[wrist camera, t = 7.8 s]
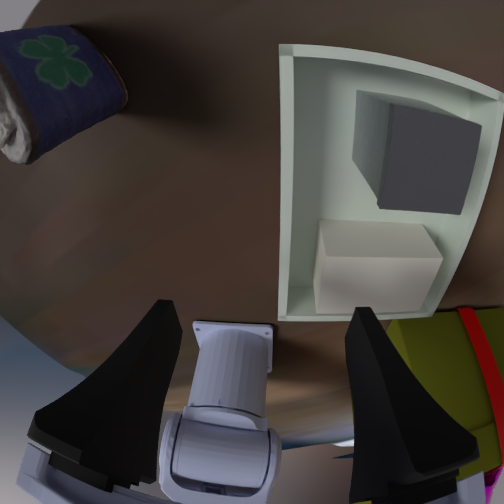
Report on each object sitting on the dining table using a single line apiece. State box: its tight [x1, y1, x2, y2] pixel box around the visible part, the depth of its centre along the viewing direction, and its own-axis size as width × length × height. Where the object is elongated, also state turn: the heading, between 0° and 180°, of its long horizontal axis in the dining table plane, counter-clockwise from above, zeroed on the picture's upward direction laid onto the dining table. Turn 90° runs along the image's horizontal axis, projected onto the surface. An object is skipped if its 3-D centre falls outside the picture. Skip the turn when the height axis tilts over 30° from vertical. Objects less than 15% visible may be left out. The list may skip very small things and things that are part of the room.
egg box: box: [312, 219, 443, 314], centre depth 19 cm, size 5×8×4 cm, turn 92°
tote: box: [278, 44, 504, 321], centre depth 16 cm, size 18×13×4 cm
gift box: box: [351, 307, 504, 504], centre depth 20 cm, size 21×21×25 cm
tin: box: [352, 90, 482, 215], centre depth 12 cm, size 5×5×6 cm
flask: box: [0, 25, 128, 165], centre depth 9 cm, size 9×3×11 cm, turn 35°
